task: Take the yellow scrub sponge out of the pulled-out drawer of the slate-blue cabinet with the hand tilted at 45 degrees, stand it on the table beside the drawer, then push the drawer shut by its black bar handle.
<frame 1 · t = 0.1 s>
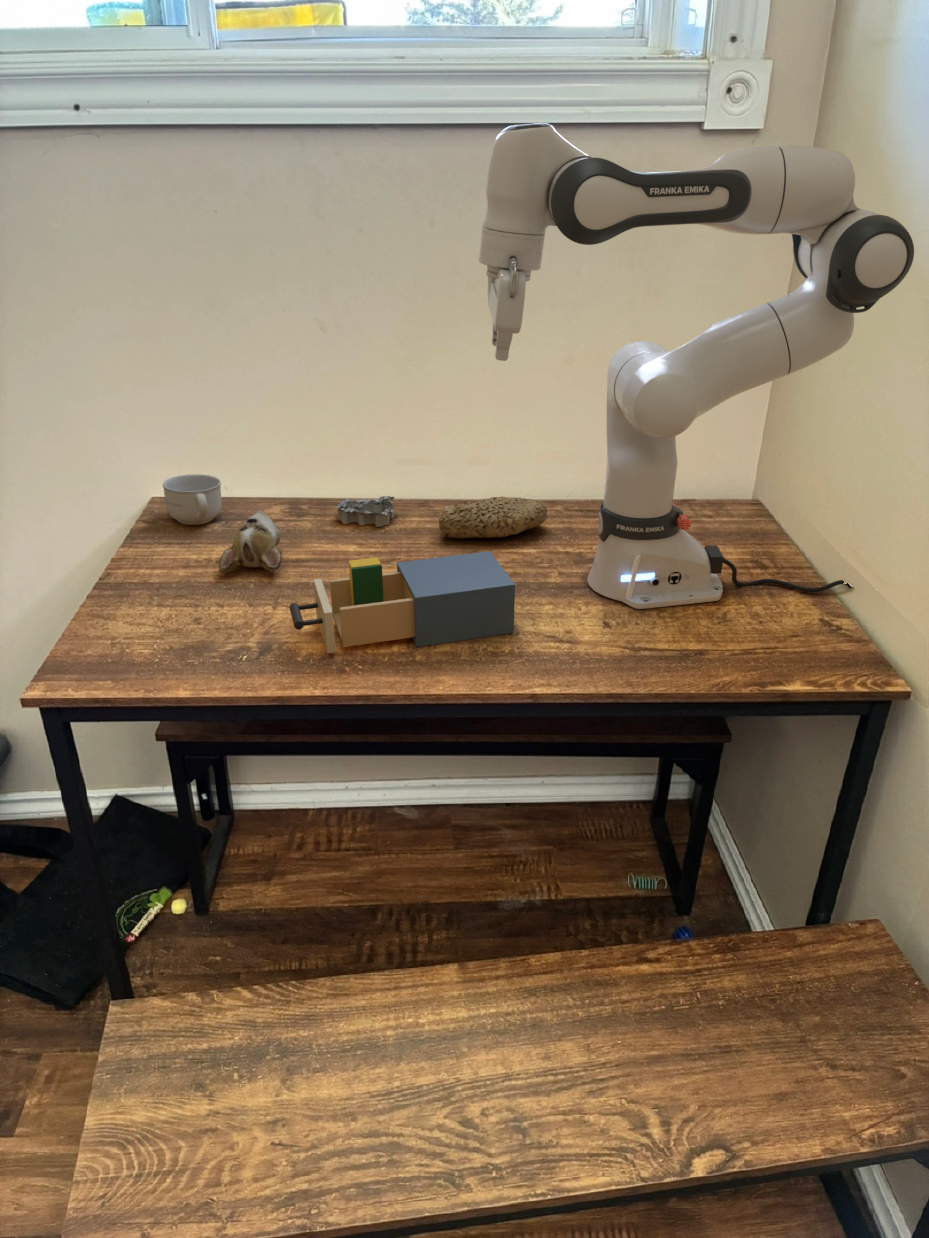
hand: (499, 352, 131), 39 cm above the table, tool pointing down, fingers open, 8 cm apart
sponge: (493, 533, 169), on the table
drawer: (354, 610, 133), point 4 cm above the table, slide at 12.0 cm, touching scrub sponge
scrub sponge: (368, 615, 136), point 2 cm above the table, touching drawer
cabinet: (454, 620, 139), on the table
egg carton: (366, 520, 175), on the table
teacup: (198, 523, 173), on the table
ceramic sculpture: (256, 564, 157), on the table
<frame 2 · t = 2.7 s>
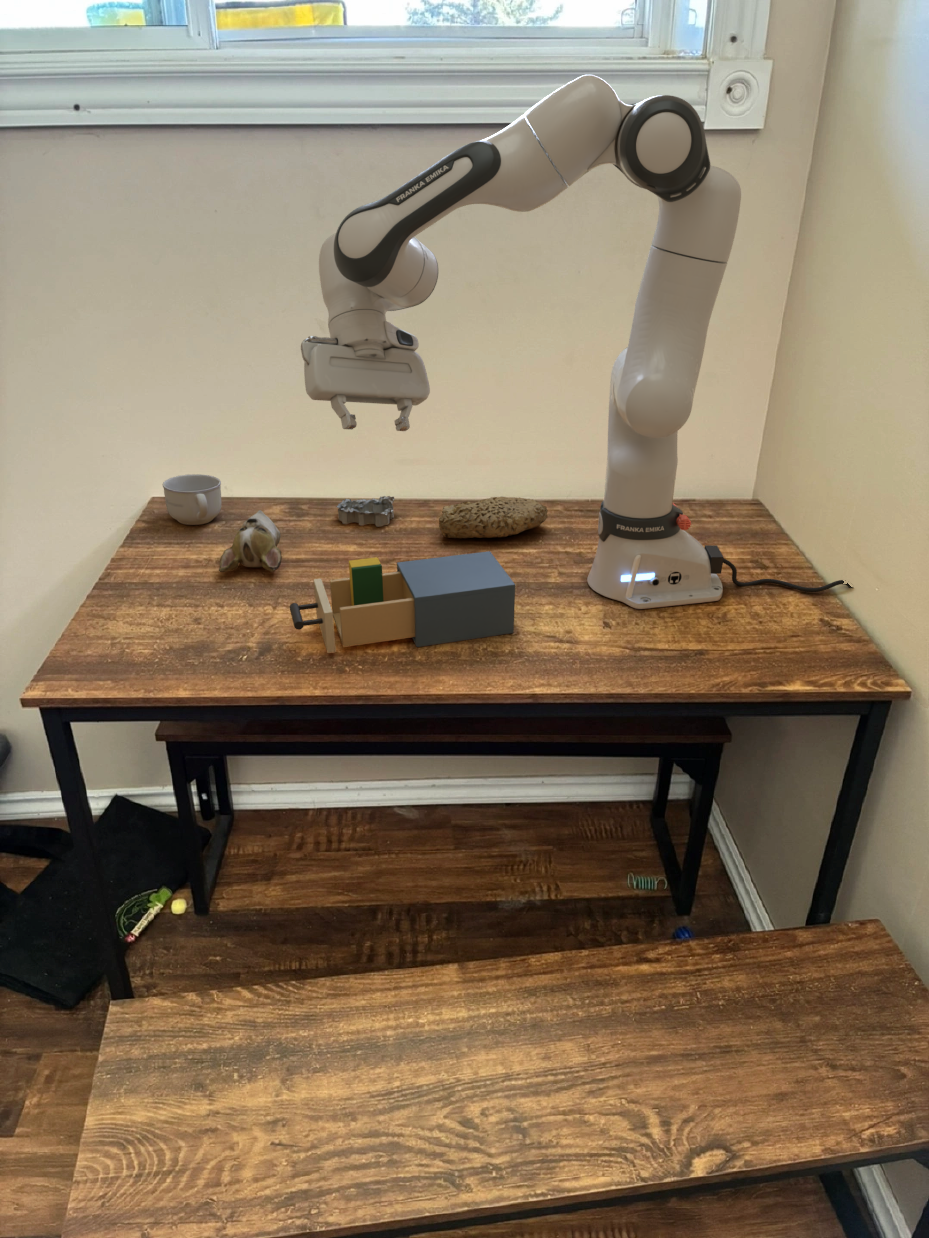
hand: (377, 429, 132), 28 cm above the table, tool tilted 35°, fingers open, 8 cm apart
nothing on the table moved.
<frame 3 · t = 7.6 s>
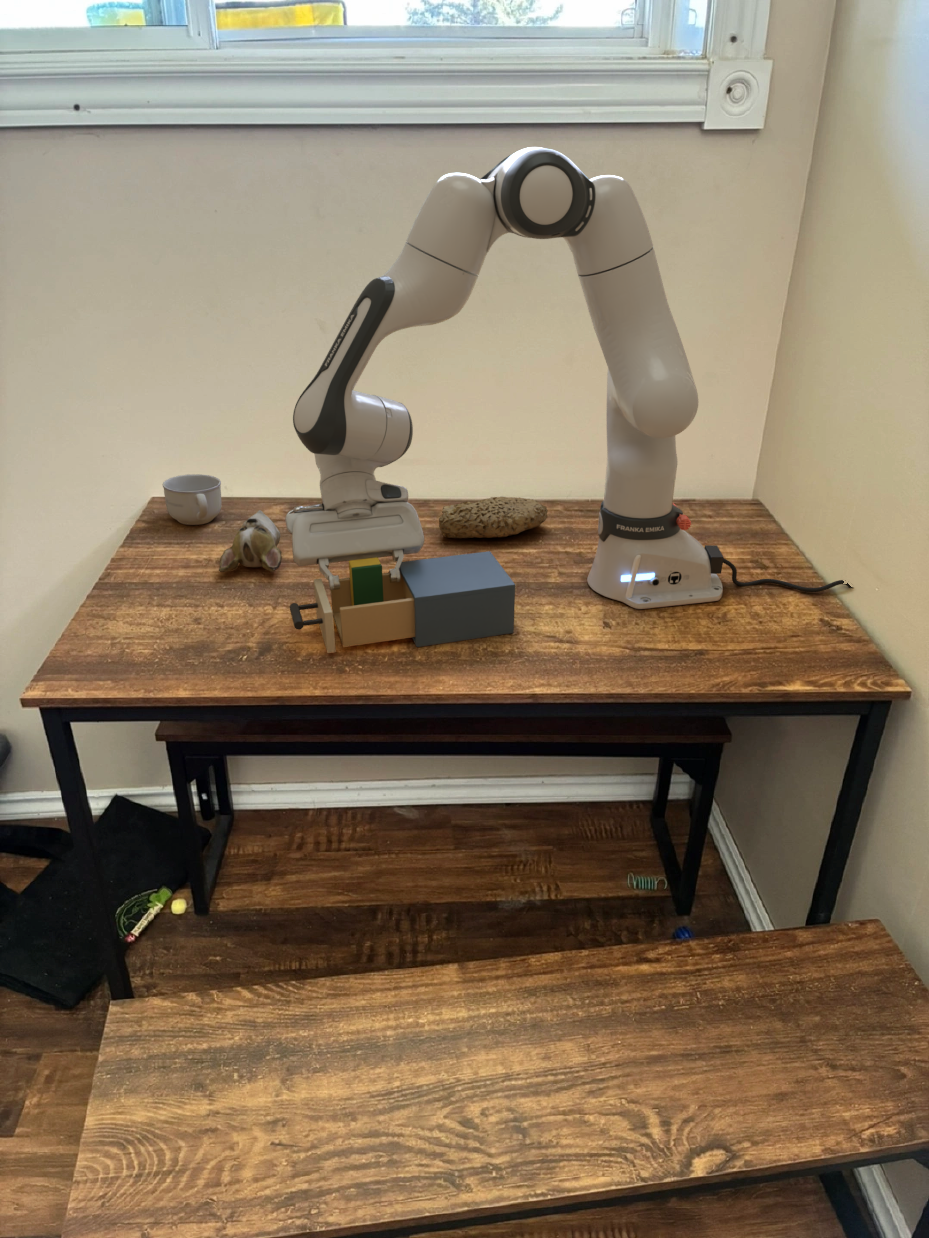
hand: (365, 585, 133), 7 cm above the table, tool tilted 45°, fingers open, 8 cm apart
nothing on the table moved.
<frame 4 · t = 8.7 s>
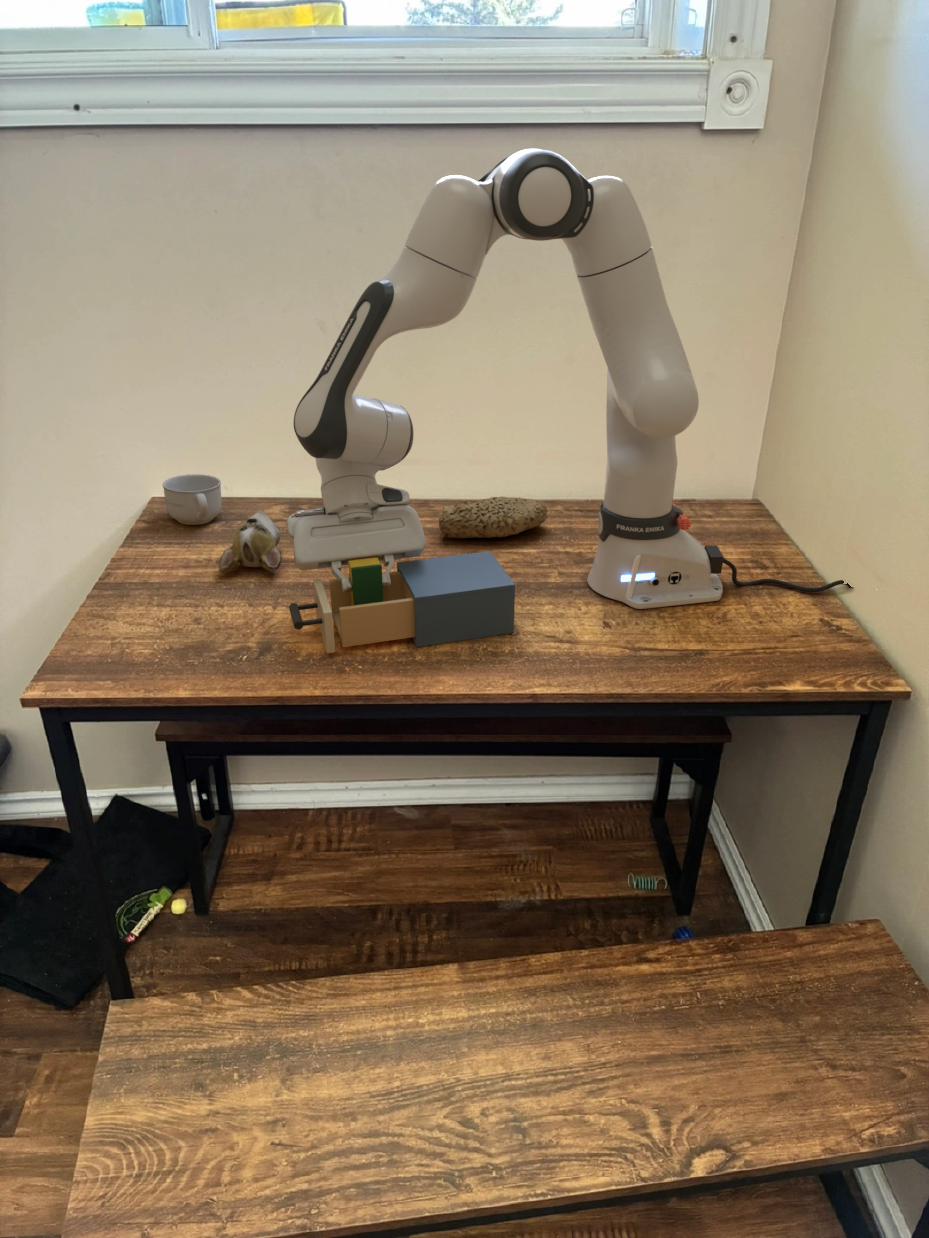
hand: (367, 588, 133), 7 cm above the table, tool tilted 45°, fingers closed on scrub sponge, 4 cm apart
scrub sponge: (367, 615, 136), point 2 cm above the table, touching drawer, gripper
everything else where it was.
when the fingers open (5 cm above the table, at t = 16.6 s): scrub sponge stays where it is, on the table.
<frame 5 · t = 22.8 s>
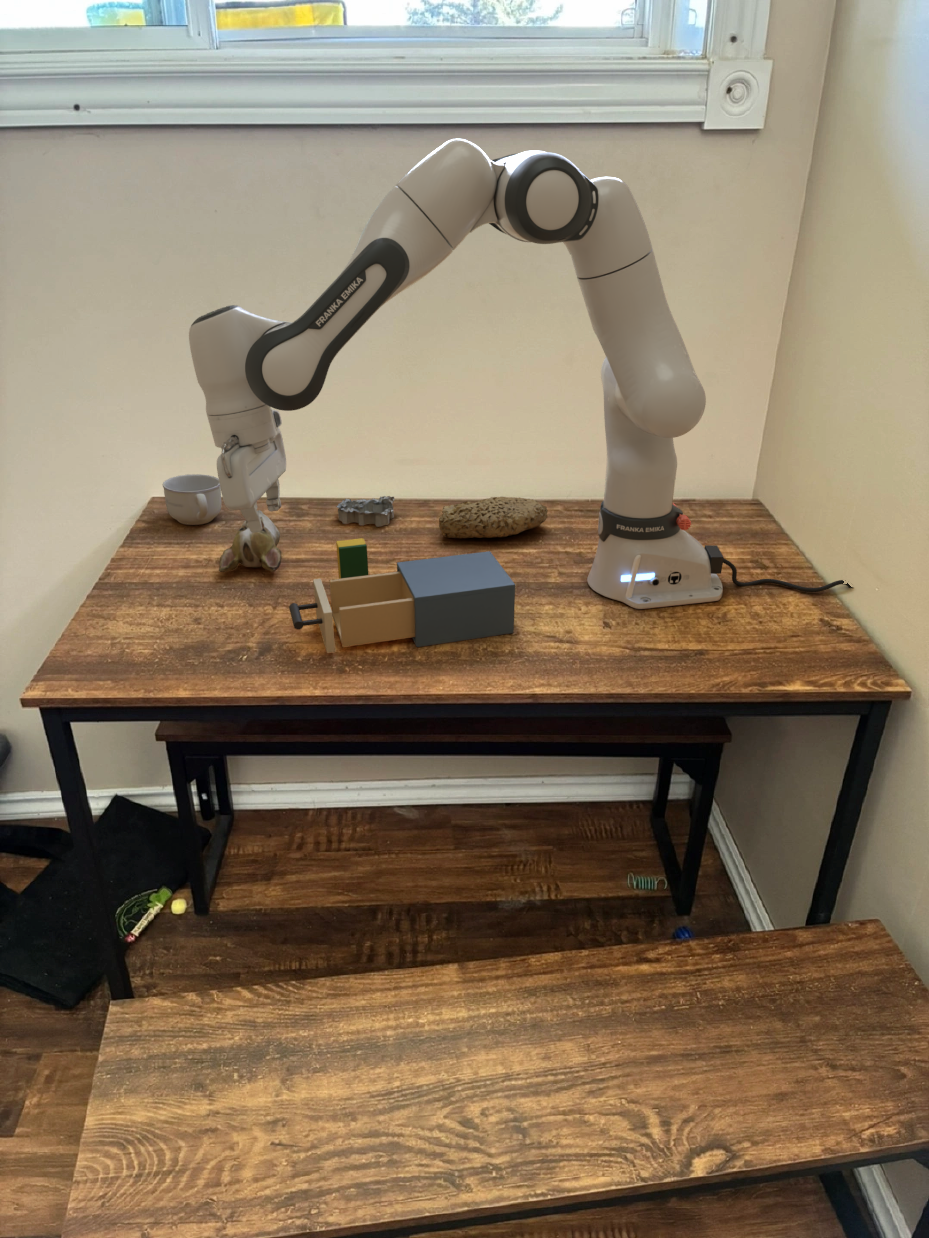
hand: (266, 520, 131), 17 cm above the table, tool pointing down, fingers open, 8 cm apart
drawer: (353, 610, 133), point 4 cm above the table, slide at 12.1 cm
scrub sponge: (354, 592, 147), on the table
everything else where it was.
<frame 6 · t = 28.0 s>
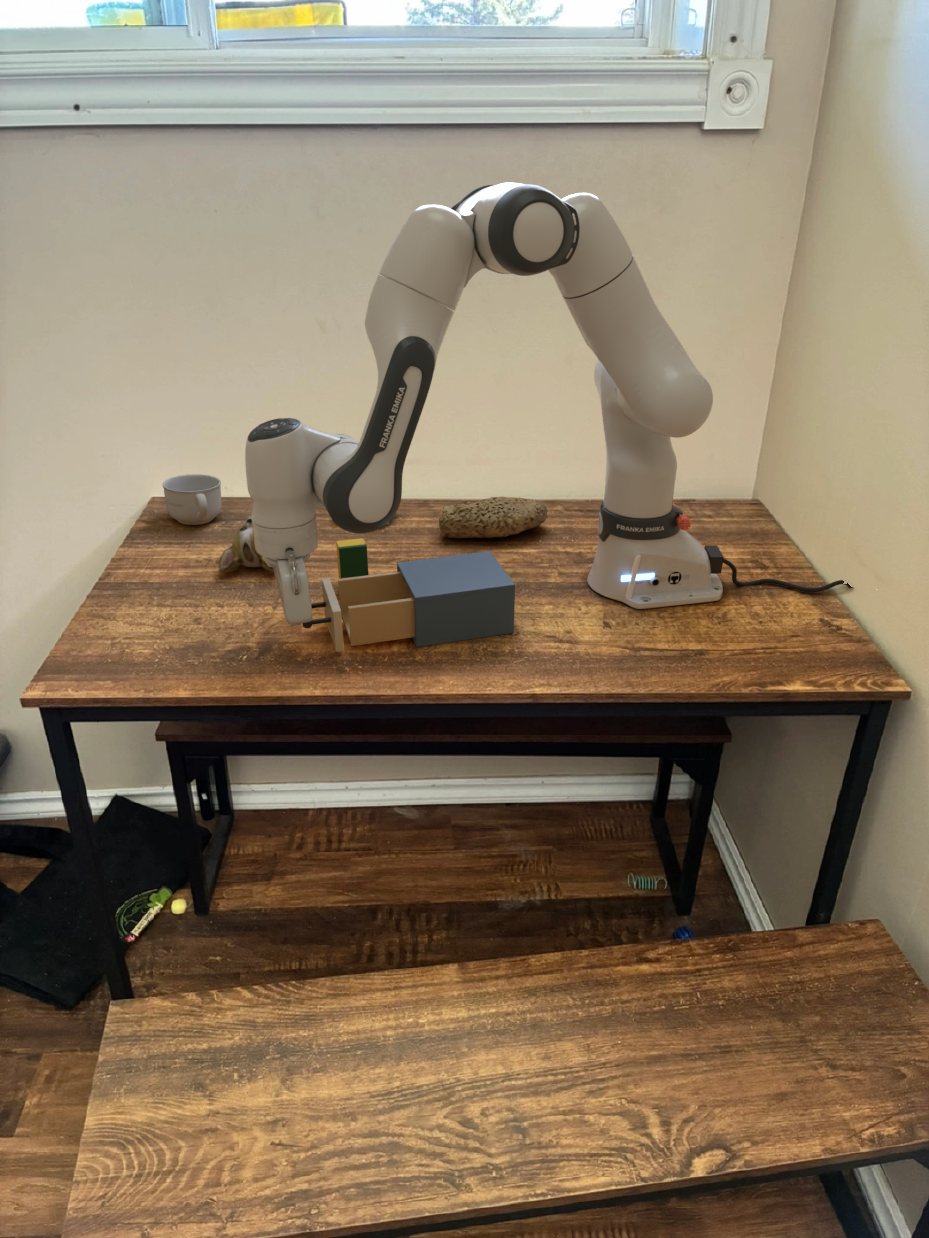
hand: (294, 621, 131), 4 cm above the table, tool pointing down, fingers closed
drawer: (362, 609, 133), point 4 cm above the table, slide at 10.8 cm
everything else where it was.
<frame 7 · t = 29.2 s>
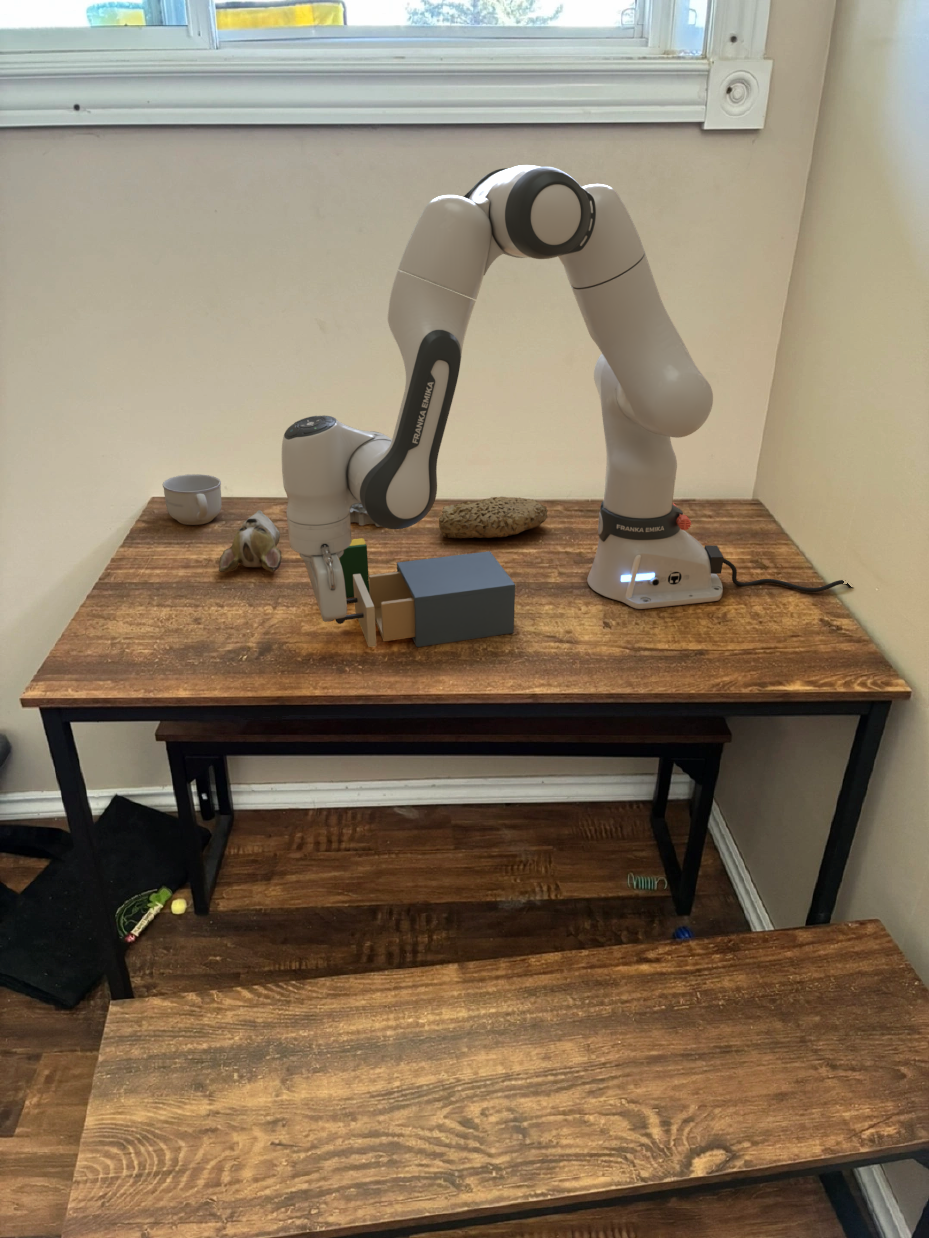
hand: (327, 617, 132), 4 cm above the table, tool pointing down, fingers closed, pressing on drawer
drawer: (393, 605, 134), point 4 cm above the table, slide at 5.9 cm, touching gripper
everything else where it was.
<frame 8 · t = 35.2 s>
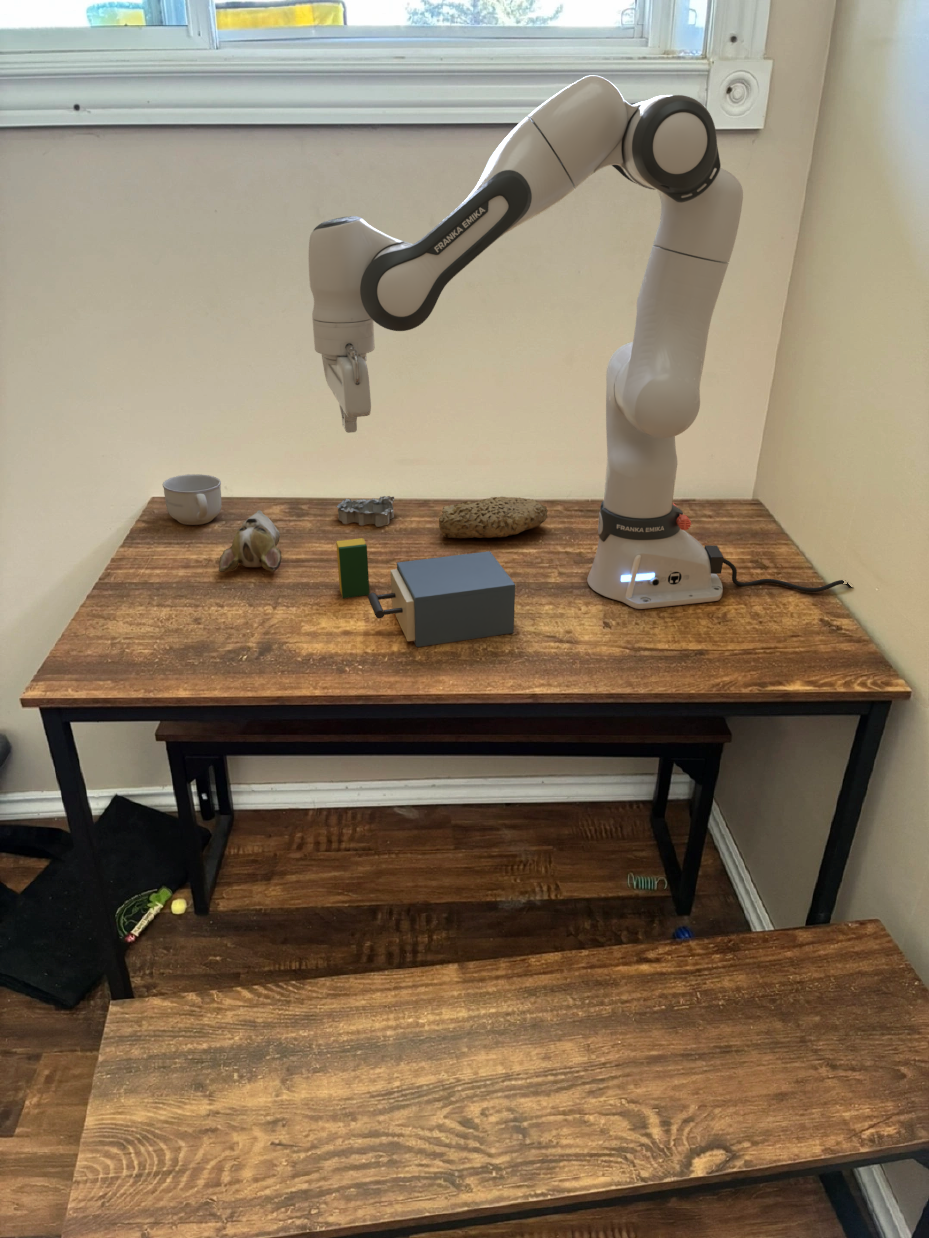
hand: (349, 429, 136), 27 cm above the table, tool pointing down, fingers closed
drawer: (431, 600, 136), point 4 cm above the table, slide at 0.0 cm, touching cabinet
everything else where it was.
at the end: scrub sponge inside the target area (0.1 cm from its centre), on the table; scrub sponge tilted 0°; drawer slide at 0.0 cm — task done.
